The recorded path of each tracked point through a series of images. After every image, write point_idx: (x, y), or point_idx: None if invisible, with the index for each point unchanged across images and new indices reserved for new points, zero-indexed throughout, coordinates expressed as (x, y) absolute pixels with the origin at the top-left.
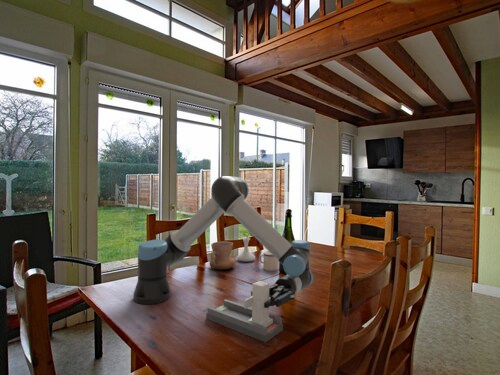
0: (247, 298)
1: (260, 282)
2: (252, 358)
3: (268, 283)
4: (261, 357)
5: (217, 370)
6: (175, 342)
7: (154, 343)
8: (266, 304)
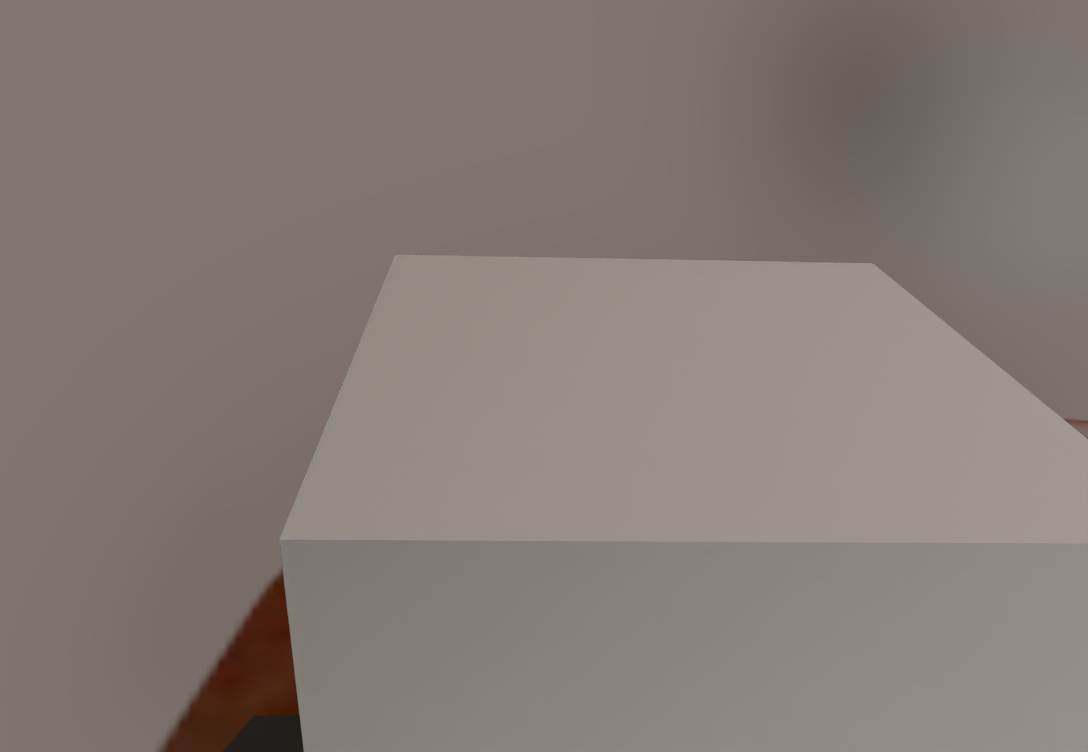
0: None
1: (821, 402)
2: (287, 675)
3: (324, 493)
4: (202, 730)
5: None
6: None
7: None
8: (262, 731)
